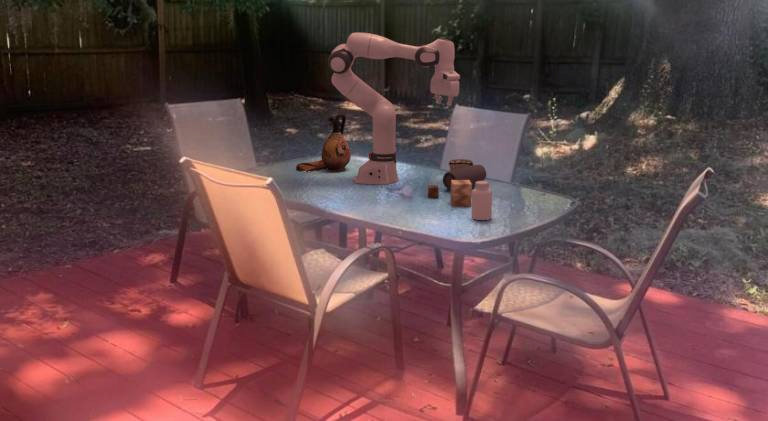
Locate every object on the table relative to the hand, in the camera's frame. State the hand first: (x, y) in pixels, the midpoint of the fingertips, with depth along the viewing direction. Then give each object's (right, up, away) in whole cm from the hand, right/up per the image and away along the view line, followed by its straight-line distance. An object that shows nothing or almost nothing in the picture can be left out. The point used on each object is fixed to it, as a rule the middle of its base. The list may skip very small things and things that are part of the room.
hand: (443, 104), depth 318 cm
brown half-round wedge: (+10, -34, +21) cm, 41 cm away
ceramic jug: (-53, -28, +45) cm, 75 cm away
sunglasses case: (-65, -28, +48) cm, 86 cm away
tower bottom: (+5, -47, -22) cm, 52 cm away
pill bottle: (+11, -53, -44) cm, 69 cm away
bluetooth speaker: (+10, -39, +5) cm, 40 cm away
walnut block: (-6, -43, -11) cm, 45 cm away
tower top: (+5, -42, -24) cm, 49 cm away
